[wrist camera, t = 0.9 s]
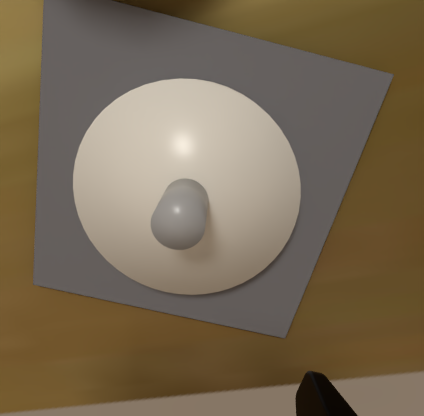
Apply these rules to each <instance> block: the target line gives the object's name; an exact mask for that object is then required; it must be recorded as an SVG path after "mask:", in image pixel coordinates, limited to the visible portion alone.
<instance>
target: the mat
mask: <svg viewBox="0 0 424 416" xmlns="http://www.w3.org/2000/svg"><path fill="white" fill-rule="evenodd" d="M393 75H394V74H390V73H386V72H382V71H379V70H375V69H371V68H367V67H363V66H360V65H356V64H352V63H348V62H344V61H340V60H337V59H333V58H329V57H325V56H321V55H318V54H314V53H310V52H306V51H302V50H299V49H295V48H291V47H287V46H283V45H280V44H276V43H272V42H268V41H264V40H261V39H257V38H253V37H249V36H245V35H242V34H238V33H234V32H230V31H226V30H223V29H219V28H215V27H211V26H207V25H204V24H200V23H196V22H192V21H188V20H185V19H181V18H177V17H173V16H169V15H165V14H162V13H158V12H154V11H150V10H146V9H143V8H139V7H135V6H131V5H127V4H124V3H120V2H116V1H112V0H44V8H43V35H42V62H41V88H40V115H39V142H38V169H37V195H36V222H35V249H34V275H33V285H38V286H42V287H47V288H52V289H56V290H61V291H66V292H71V293H75V294H80V295H85V296H89V297H94V298H99V299H103V300H108V301H113V302H117V303H122V304H127V305H131V306H136V307H141V308H145V309H150V310H155V311H159V312H164V313H169V314H173V315H178V316H183V317H187V318H192V319H197V320H201V321H206V322H211V323H215V324H220V325H225V326H229V327H234V328H239V329H243V330H248V331H253V332H257V333H262V334H267V335H271V336H276V337H281V338H285V337H286V335H287V332H288V330H289V328H290V325H291V323H292V320H293V318H294V315H295V313H296V311H297V308H298V306H299V303H300V301H301V298H302V296H303V294H304V291H305V289H306V286H307V284H308V282H309V279H310V277H311V274H312V272H313V269H314V267H315V265H316V262H317V260H318V257H319V255H320V252H321V250H322V248H323V245H324V243H325V240H326V238H327V235H328V233H329V231H330V228H331V226H332V223H333V221H334V218H335V216H336V214H337V211H338V209H339V206H340V204H341V202H342V199H343V197H344V194H345V192H346V189H347V187H348V185H349V182H350V180H351V177H352V175H353V172H354V170H355V168H356V165H357V163H358V160H359V158H360V155H361V153H362V151H363V148H364V146H365V143H366V141H367V139H368V136H369V134H370V131H371V129H372V126H373V124H374V122H375V119H376V117H377V114H378V112H379V109H380V107H381V105H382V102H383V100H384V97H385V95H386V92H387V90H388V88H389V85H390V83H391V80H392V78H393ZM179 78H182V79H199V80H205V81H210V82H214V83H217V84H220V85H224V86H227V87H229V88H231V89H233V90H235V91H237V92H239V93H241V94H243V95H245V96H246V97H248V98H249V99H250V100H252V101H253V102H255V103H256V104H257V105H258V106H260V107H261V108H262V109H263V110H264V111H265V112H266V113H267V114H268V115H270V117H271V118H272V119H273V120H274V121H275V123H276V124H277V125H278V126H279V127H280V129H281V130H282V132H283V134H284V135H285V137H286V138H287V140H288V142H289V144H290V146H291V149H292V151H293V153H294V155H295V159H296V162H297V166H298V169H299V176H300V183H301V199H300V206H299V213H298V216H297V220H296V223H295V226H294V229H293V231H292V233H291V235H290V238H289V239H288V241H287V243H286V244H285V246H284V248H283V249H282V251H281V252H280V253H279V254H278V255H277V257H276V258H275V259H274V260H273V261H272V262H271V263H270V264H269V265H268V266H267V267H266V268H265V269H264V270H262V271H261V272H260V273H258V274H257V275H256V276H254V277H252V278H251V279H249V280H247V281H245V282H244V283H242V284H239V285H237V286H235V287H232V288H229V289H226V290H223V291H219V292H214V293H208V294H197V295H186V294H175V293H169V292H164V291H160V290H157V289H153V288H150V287H148V286H145V285H143V284H140V283H138V282H137V281H135V280H133V279H131V278H129V277H127V276H126V275H125V274H123V273H122V272H120V271H119V270H117V269H116V268H115V267H114V266H113V265H111V264H110V263H109V262H108V261H107V260H106V259H105V258H104V257H103V256H102V255H101V254H100V253H99V251H98V250H97V249H96V247H95V246H94V245H93V243H92V242H91V241H90V239H89V237H88V235H87V234H86V232H85V230H84V228H83V226H82V223H81V221H80V218H79V216H78V213H77V209H76V205H75V200H74V192H73V172H74V165H75V159H76V156H77V153H78V149H79V146H80V144H81V142H82V140H83V137H84V135H85V133H86V132H87V130H88V129H89V127H90V126H91V124H92V123H93V121H94V120H95V119H96V117H97V116H98V115H99V114H100V113H101V112H102V111H103V110H104V109H105V108H106V107H107V106H108V105H110V104H111V103H112V102H113V101H114V100H116V99H117V98H119V97H120V96H122V95H124V94H125V93H127V92H129V91H130V90H133V89H135V88H138V87H140V86H143V85H145V84H149V83H153V82H157V81H161V80H169V79H179Z"/></svg>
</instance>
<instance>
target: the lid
mask: <svg viewBox="0 0 424 416" xmlns="http://www.w3.org/2000/svg"><path fill="white" fill-rule="evenodd" d="M73 192H74V200H75V205H76V209H77V213H78V216H79V218H80V221H81V223H82V226H83V228H84V230H85V232H86V234H87V235H88V237H89V239H90V241H91V242H92V243H93V245H94V246H95V247H96V249H97V250H98V251H99V253H100V254H101V255H102V256H103V257H104V258H105V259H106V260H107V261H108V262H109V263H110V264H111V265H113V266H114V267H115V268H116V269H117V270H119V271H120V272H122V273H123V274H125V275H126V276H127V277H129V278H131V279H133V280H135V281H137V282H138V283H140V284H143V285H145V286H148V287H150V288H153V289H157V290H160V291H164V292H169V293H175V294H186V295H197V294H208V293H214V292H219V291H223V290H226V289H229V288H232V287H235V286H237V285H239V284H242V283H244V282H245V281H247V280H249V279H251V278H252V277H254V276H256V275H257V274H258V273H260V272H261V271H262V270H264V269H265V268H266V267H267V266H268V265H269V264H270V263H271V262H272V261H273V260H274V259H275V258H276V257H277V255H278V254H279V253H280V252H281V251H282V249H283V248H284V246H285V244H286V243H287V241H288V239H289V238H290V235H291V233H292V231H293V229H294V226H295V223H296V220H297V216H298V213H299V206H300V199H301V183H300V176H299V169H298V166H297V162H296V159H295V155H294V153H293V151H292V149H291V146H290V144H289V142H288V140H287V138H286V137H285V135H284V134H283V132H282V130H281V129H280V127H279V126H278V125H277V124H276V123H275V121H274V120H273V119H272V118H271V117H270V115H268V114H267V113H266V112H265V111H264V110H263V109H262V108H261V107H260V106H258V105H257V104H256V103H255V102H253V101H252V100H250V99H249V98H248V97H246V96H245V95H243V94H241V93H239V92H237V91H235V90H233V89H231V88H229V87H227V86H224V85H220V84H217V83H214V82H210V81H205V80H199V79H182V78H179V79H169V80H161V81H157V82H153V83H149V84H145V85H143V86H140V87H138V88H135V89H133V90H130V91H129V92H127V93H125V94H124V95H122V96H120V97H119V98H117V99H116V100H114V101H113V102H112V103H111V104H110V105H108V106H107V107H106V108H105V109H104V110H103V111H102V112H101V113H100V114H99V115H98V116H97V117H96V119H95V120H94V121H93V123H92V124H91V126H90V127H89V129H88V130H87V132H86V133H85V135H84V137H83V140H82V142H81V144H80V146H79V149H78V153H77V156H76V159H75V165H74V172H73Z"/></svg>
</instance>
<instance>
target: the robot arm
mask: <svg viewBox="0 0 424 416" xmlns="http://www.w3.org/2000/svg"><path fill="white" fill-rule="evenodd" d="M296 415H297V416H357V414H356V413H355V412H354V411H353V409H352V408H351V407H350V406H349V404H348V403H347V402H346V401H345V400H344V398H343V397H342V396H341V395H340V393H339V392H338V391H337V390H336V388H335V387H334V386H333V385H332V383H331V382H330V381H329V380H328V379H327V377H326V376H325V375H324V374H322V373H318V372H313V371H308V372H307V373H306V374H305V376H304V378H303V380H302V382H301V384H300V386H299V389H298V391H297V393H296Z"/></svg>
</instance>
